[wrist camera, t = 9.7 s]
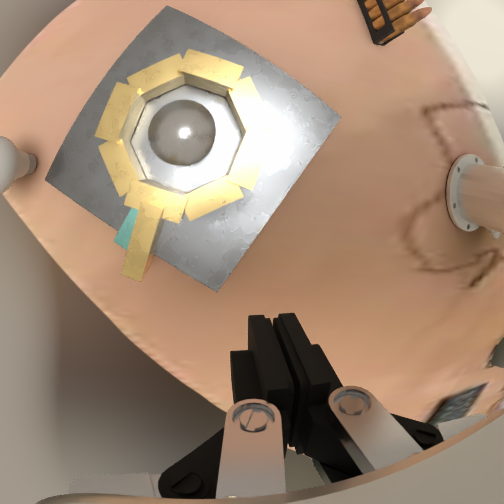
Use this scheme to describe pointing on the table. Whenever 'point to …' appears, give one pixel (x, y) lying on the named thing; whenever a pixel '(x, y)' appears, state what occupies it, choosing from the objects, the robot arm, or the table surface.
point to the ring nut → (163, 197)
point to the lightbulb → (13, 163)
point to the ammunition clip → (390, 17)
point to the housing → (194, 147)
